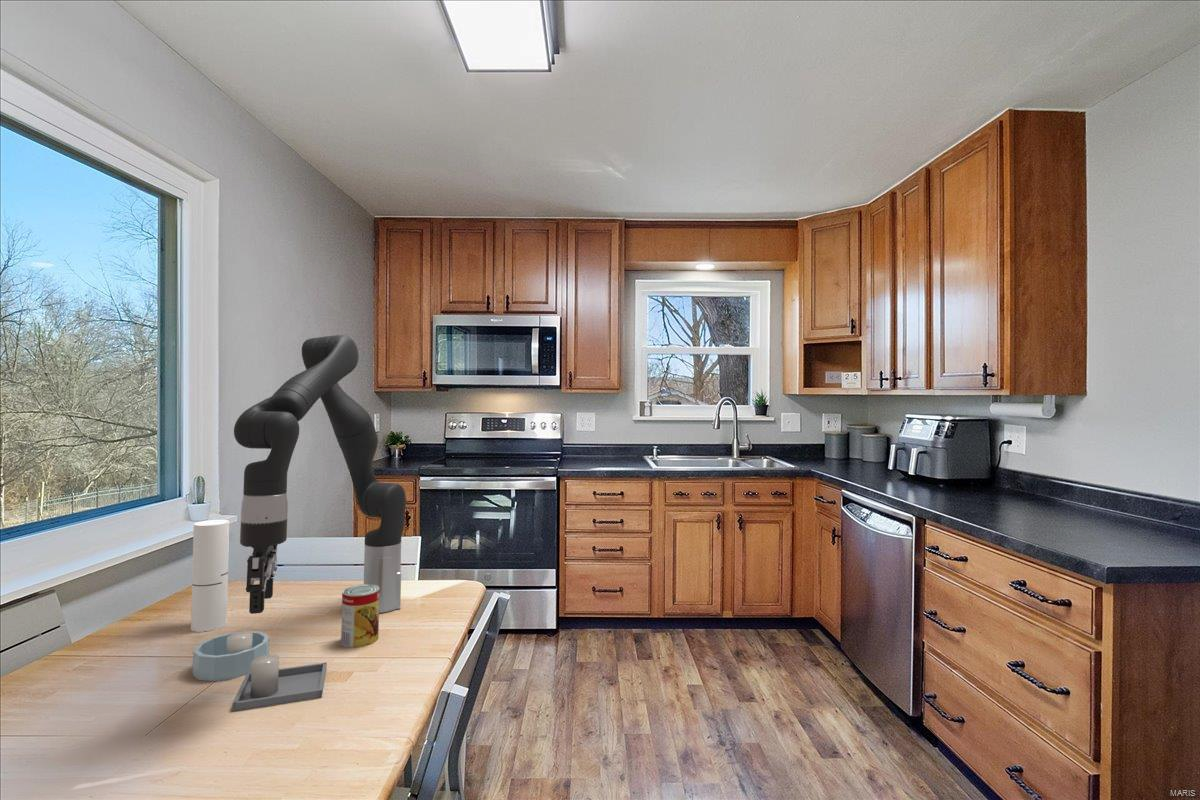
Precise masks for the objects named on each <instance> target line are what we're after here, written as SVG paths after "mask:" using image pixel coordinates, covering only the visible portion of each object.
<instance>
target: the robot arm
mask: <svg viewBox="0 0 1200 800" xmlns="http://www.w3.org/2000/svg"><path fill="white" fill-rule="evenodd" d="M359 356H360V355H359V349H358V347H357V345H356V343H355V341H354V340H353V339H352V337H350V336H348V335H346V334H345V335H343V334H335V335H334V334H333V335H326V336H318V337H311V338H308V339H306V340H305V341H303V343H302V346H301V357H302V362H303V364H304V368H305V370H303V371H301V372H299V373H298V374H295V375H294V376H292V377H291V378H289V379H288V380H286V381H285V382H284V383H283V384H281V386H280V387H279V388H278V389H277V390H276V391H275V392H274V393H273V394H272V395H271V396H270V397H267V398H265V399H263V400H261V401H259V402H257V403H255V404H254V405H252V406H251V407H248V408H247V409H246V410H244V411H243V412H242V413H241V415H239V416H238V418H237V420H236V421H235V424H234V426H233V436H234V440H235V441H236V442H237V443H238V444H239V445H240V446H242V447H244V448H246V449H247V448H248V449H259V450H260V449H264V450H265V449H267V450H269V449H270V452H269V454H268V455H267V458H266V459H264V460H259V461H255V462H254V461H253V462H251V463H248V464H247V465H246V466H245V468H244V471H243V492H242V493H243V495H242V501H241V507H240V508H241V509H240V528H239V529H240V530H239V531H240V533H239V543H240V545H241V546H242V547H245V548H246V547H247V548H248V547H249V548H252V549H253V551H252V554H251V555H248V556H249V557H248V558H247V560H246V563H247V567H246V568H247V569H246V570H247V571H246V586H245V591H246V593H249V607H248V608H249V611H248V613H249V614H252V615H253V614H254V615H255V614H262V613H263V612H264V610H265V600H266V599H267V600H268V599H271V598H272V597H273V594H274V578H275V576H276V571H277V569H278V566H277V564H278V562H277V557H278V545H281V544H283V543H285V542H286V541H287V536H288V535H287V534H288V509H289V508H288V506H289V505H288V495H287V490H288V473H289V468H290V467H289V466H290V464H291V460H292V457H293V453H294V451H295V448H296V445H297V442H298V440H299V436H300V425H299V422H300V421H302V419H303V418H304V417H305V416H306V415H307V414H308V412H309V411H310V410H311V409H312V407H313V406H314V405H315V404H316V403H317V401H318V400H319V399H321V402H322V404H323V406H324V409H325V411H326V413H327V416H328V419H329V422H330V424H331V427H332V429H333V433H334V435H335V438H336V440H337V444H338V446H339V448H340V451H341V452H342V455H343V458H344V461H345V463H346V464H345V465H346V467H347V470H348V472H349V474H350V478H351V482H352V486H353V490H354V494H355V499H356V501H357V504H358V508H359V509H360V511H361V512H362V514H364V515H365V516H367V517H369V518H380V524H379V527H377V528H375V529H373V530H369V531H367V532H366V534H365V535H364V549H363V550H364V553H363V555H364V557H363V558H364V559H363V584H371V585H376V586H378V587H379V614H381V613H387V612H392V611H395V610H399V609H401V604H402V603H401V599H402V598H401V596H402V595H401V594H402V592H401V591H402V569H401V568H402V566H401V565H402V562H401V561H402V536H403V532H404V530H405V529H404V528H405V519H406V518H405V517H406V507H407V504H406V503H407V498H406V491H405V489H404V487H403V486H402V485H401V484H399V483H394V482H393V483H392V482H391V483H390V482H379V481H378V479H377V478H376V475H375V474H376V473H375V472H374V468H373V462H374V458H375V456H376V451H377V449H378V446H379V437H378V434H377V430H376V427H375V424H374V422H373V419H372V417H371V415H370V413H369V412H368V411H367V410H366V409H365V408H364V407H363V406H362V405H360V403H358V402H357V401H356V400H355V399H354V398H352V397H351V396H350V395H348V394H347V392H345V390H343V388H342V387H341V385H340V384H339V382H340V381H342V380H343V378H345V377H346V376H348V375H349V374H350V373H352V372H353V371H354V370H355V369H356V368H357V366H358V364H359V363H358V362H359ZM255 581H259V583H257V584H255Z"/></svg>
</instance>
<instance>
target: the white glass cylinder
mask: <svg viewBox="0 0 1200 800" xmlns="http://www.w3.org/2000/svg"><path fill="white" fill-rule="evenodd" d="M243 631H244V632H243ZM243 631H237V633H234V632H233V633H234V634H231V635H229V636H228V637H227V654H234V653H238V652H241V651H245V650H248V649H251V648H252V637H253V633H252V632H248V631H249V630H243Z"/></svg>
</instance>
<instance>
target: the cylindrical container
mask: <svg viewBox="0 0 1200 800" xmlns="http://www.w3.org/2000/svg"><path fill="white" fill-rule="evenodd" d="M192 539H193V541H192V543H193V544H192V572H191V573H192V575H191V576H192V577H191V578H192V579H191V583H192V584H191V610H190V611H191V614H190V615H191V616H190V618H191V619H190V631H191V630H192V632H194V631H195V632H194V633H204V631H207V632H211V630H212V631H216V630H218V629H221V627H222V628H224V627H225V626H226V625H228V623H227V622H228V621H227V620H228V619H227V618H228V590H229V589H228V588H229V587H228V584H229V583H228V582H229V554H230V553H229V552H230V551H229V548H230V547H229V546H230V544H229V542H230V520H227V519H208V520H203V521H202V520H201V521H196V522H195V523H193V538H192ZM215 629H216V630H215Z"/></svg>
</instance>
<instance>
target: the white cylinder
mask: <svg viewBox="0 0 1200 800" xmlns="http://www.w3.org/2000/svg"><path fill="white" fill-rule="evenodd" d="M279 666H280V657H279V655H276V654H269V655H265V656H261V657H258V658H256V659H254V660H253V661H252V662H251V697H252V698H263V697H269V696H271V695H273V694H275V693H276V692H277V691H278V673H279V669H280V668H279Z"/></svg>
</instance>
